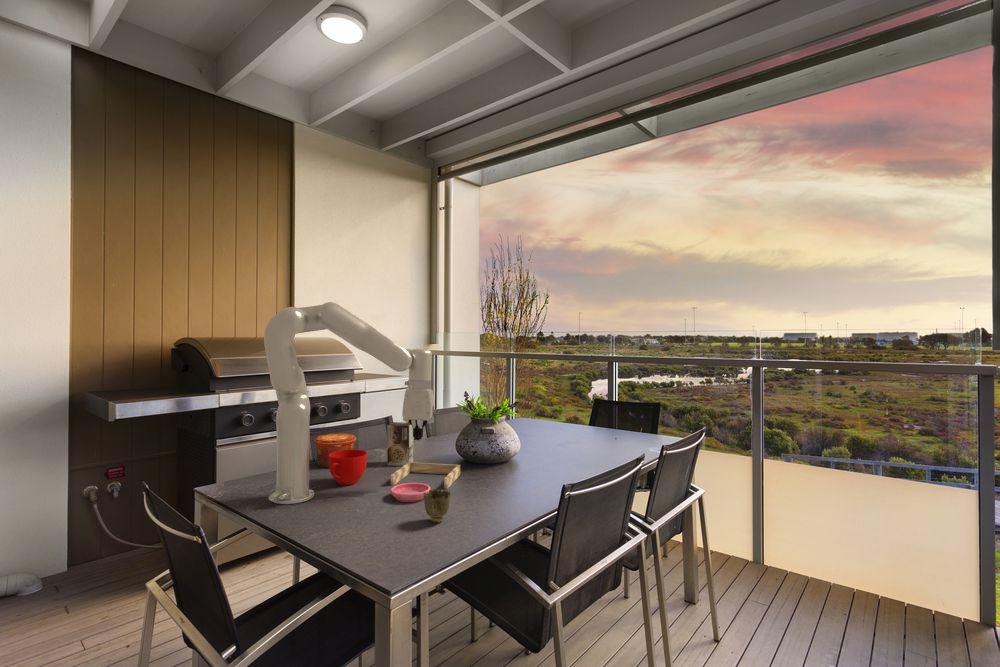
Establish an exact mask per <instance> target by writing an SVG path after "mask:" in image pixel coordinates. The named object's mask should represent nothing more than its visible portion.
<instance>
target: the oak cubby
mask: <svg viewBox="0 0 1000 667" xmlns="http://www.w3.org/2000/svg"><path fill="white" fill-rule="evenodd" d="M410 473H417V474H437V475H438V474H439V475H446V477H444V482H443V484H444V485H443V486H444V487H443V488H444V489H445V490H448V489H449V488H450V487H451V485H452V484H453V483H454V482H455V481H456V480H457V479H458V478H459V477H460V476H461V464H451V463H450V464H449V463H433V462H418V461H415V462H414V461H413V462H408V463H407V464H406V465H404V466H400V468H399V469H397V470H396V471H395V472H393V473H391V475H390V486H393V487H394V486H396V485H397V483H399V482H400V481H401V480H402V479H404V478H405V477H406V476H408V475H409V474H410Z"/></svg>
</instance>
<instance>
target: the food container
mask: <svg viewBox="0 0 1000 667" xmlns="http://www.w3.org/2000/svg"><path fill="white" fill-rule="evenodd" d="M356 441H357V437H356V436H355V435H354V434H349V433H328V434H327V433H326V434H325V435H324V434H322V435H318V436H317V437H316V438H314V440H313V442H314V444H315V449H316V459H317V465H318V467H321V468H324V469H330V467H329V454H330V453H332V452H335V451H340V450H355V442H356Z"/></svg>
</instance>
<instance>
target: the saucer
mask: <svg viewBox="0 0 1000 667" xmlns="http://www.w3.org/2000/svg"><path fill="white" fill-rule="evenodd" d="M429 490H431V486H430V485H429V484H425V483H423V482H422V483H421V482H407V483H399V484H395V485H394V486H393V487H391V489H390V494H391V495H392V496H393V497H394V498H395V500H396V501H398V502H401V503H415V502H420V501H424V493H425V492H426V494H427V493H428V494H429Z"/></svg>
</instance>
